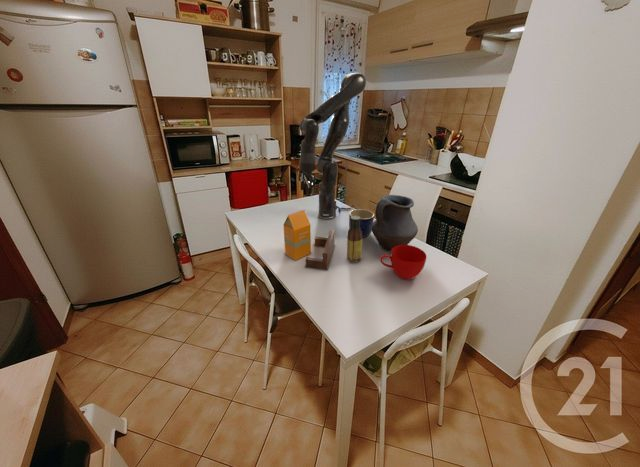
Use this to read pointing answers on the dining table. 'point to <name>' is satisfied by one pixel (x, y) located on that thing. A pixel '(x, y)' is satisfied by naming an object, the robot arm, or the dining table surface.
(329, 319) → the dining table surface
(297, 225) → the orange juice
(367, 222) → the planter
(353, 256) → the sauce bottle
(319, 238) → the wooden stand
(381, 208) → the pitcher
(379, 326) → the dining table surface
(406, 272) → the ceramic cup
